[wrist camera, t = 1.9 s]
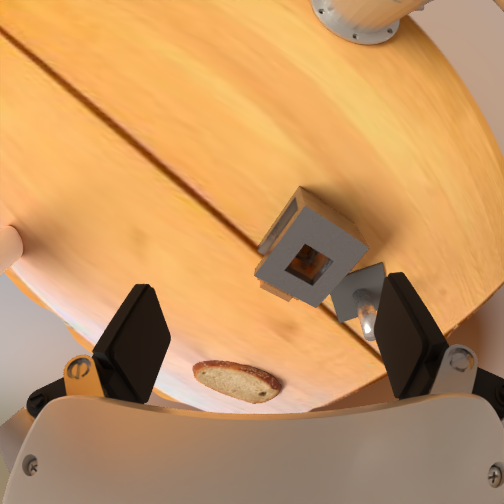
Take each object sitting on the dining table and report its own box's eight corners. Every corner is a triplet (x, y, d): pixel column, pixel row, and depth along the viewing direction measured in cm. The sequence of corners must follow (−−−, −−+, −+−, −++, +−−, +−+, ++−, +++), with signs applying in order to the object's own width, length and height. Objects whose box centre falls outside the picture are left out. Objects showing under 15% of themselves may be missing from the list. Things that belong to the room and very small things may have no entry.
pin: (366, 286, 44) (382, 324, 36) (369, 298, 45) (383, 337, 37) (350, 291, 45) (363, 330, 36) (353, 304, 46) (365, 343, 38)
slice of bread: (187, 362, 59) (183, 375, 56) (259, 349, 54) (258, 363, 51) (222, 400, 66) (220, 411, 63) (286, 391, 62) (286, 403, 59)
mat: (381, 262, 42) (382, 263, 41) (388, 304, 46) (389, 306, 46) (326, 281, 44) (326, 282, 44) (338, 321, 49) (339, 322, 48)
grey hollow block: (299, 186, 37) (305, 205, 30) (353, 222, 39) (369, 248, 32) (248, 260, 44) (242, 291, 37) (299, 288, 45) (303, 321, 38)
